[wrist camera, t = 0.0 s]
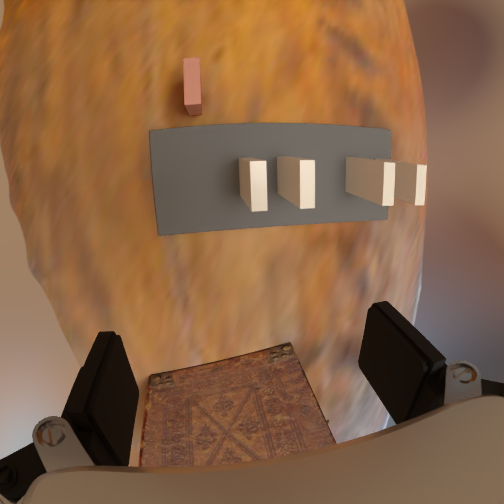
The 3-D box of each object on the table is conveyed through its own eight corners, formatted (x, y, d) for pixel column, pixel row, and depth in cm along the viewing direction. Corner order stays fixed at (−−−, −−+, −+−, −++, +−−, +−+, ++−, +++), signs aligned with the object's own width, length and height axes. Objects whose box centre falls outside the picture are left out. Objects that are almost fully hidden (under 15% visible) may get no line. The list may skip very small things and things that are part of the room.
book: (168, 406, 51) (166, 549, 23) (149, 374, 48) (132, 532, 20) (297, 377, 53) (355, 516, 25) (291, 340, 49) (360, 496, 21)
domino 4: (345, 156, 39) (384, 162, 30) (355, 157, 40) (395, 162, 30) (345, 191, 41) (382, 205, 32) (355, 191, 41) (393, 205, 32)
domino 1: (188, 79, 33) (183, 58, 24) (200, 78, 34) (199, 57, 24) (189, 115, 35) (184, 105, 26) (202, 114, 35) (201, 103, 26)
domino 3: (276, 156, 38) (299, 160, 29) (288, 156, 38) (314, 160, 29) (277, 193, 40) (300, 208, 31) (289, 193, 40) (314, 208, 31)
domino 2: (238, 157, 37) (249, 161, 28) (250, 157, 38) (266, 160, 28) (240, 195, 39) (251, 211, 30) (252, 195, 39) (267, 210, 30)
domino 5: (375, 158, 40) (417, 164, 31) (384, 158, 40) (426, 165, 31) (374, 191, 42) (414, 205, 32) (383, 191, 42) (424, 205, 33)
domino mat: (150, 131, 35) (149, 130, 34) (388, 130, 39) (390, 129, 39) (159, 234, 40) (158, 235, 39) (385, 218, 44) (387, 219, 44)
